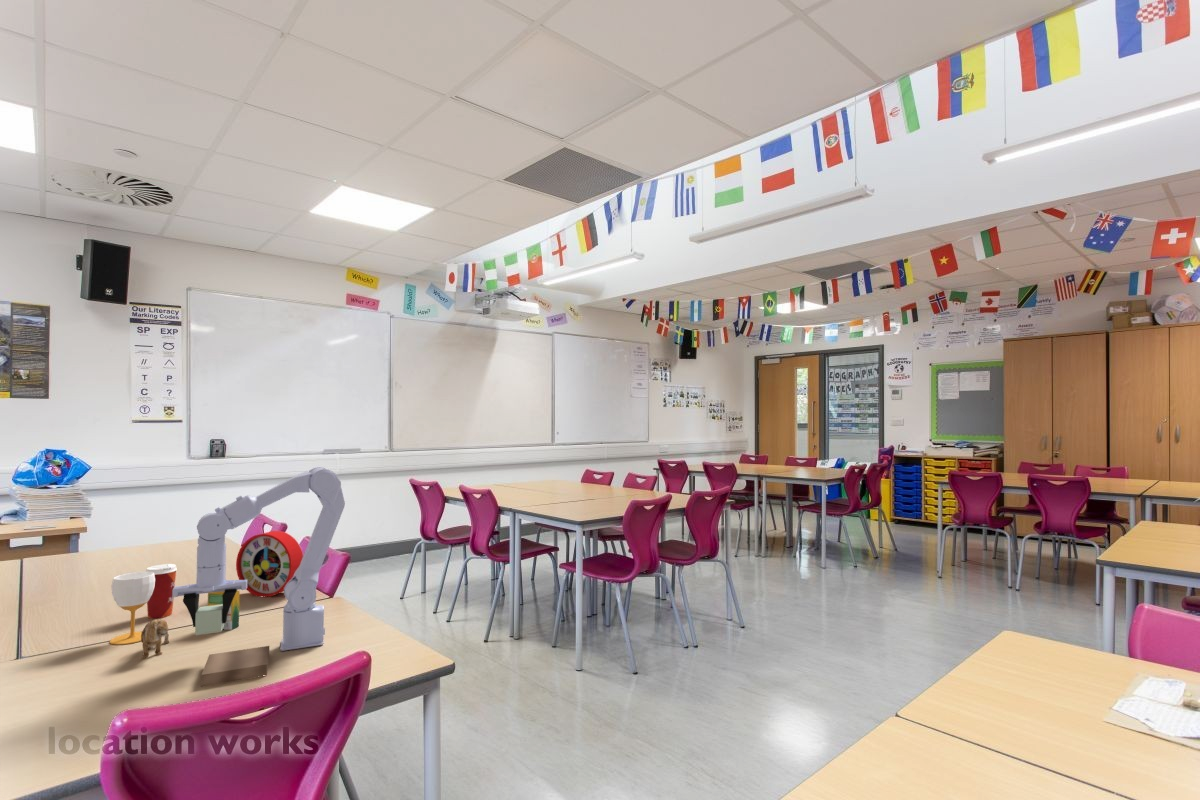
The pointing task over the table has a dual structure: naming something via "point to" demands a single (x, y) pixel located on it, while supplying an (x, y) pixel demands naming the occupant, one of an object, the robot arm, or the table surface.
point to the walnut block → (235, 666)
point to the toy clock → (268, 562)
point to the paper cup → (162, 591)
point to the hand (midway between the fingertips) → (210, 623)
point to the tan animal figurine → (154, 636)
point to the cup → (132, 599)
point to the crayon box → (233, 613)
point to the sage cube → (209, 619)
